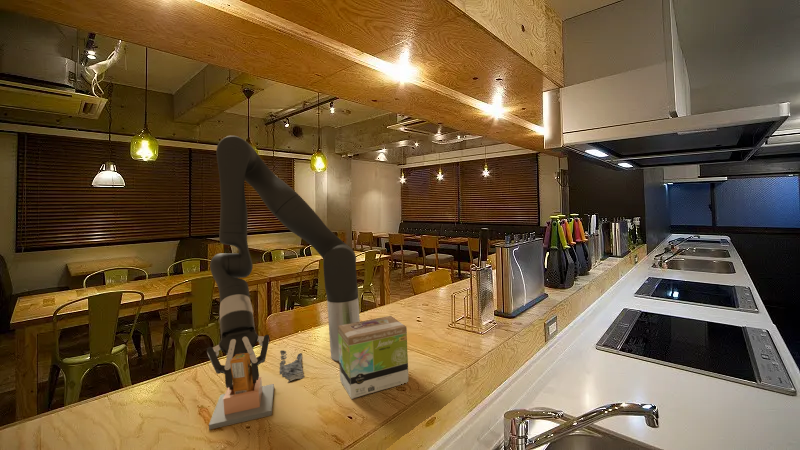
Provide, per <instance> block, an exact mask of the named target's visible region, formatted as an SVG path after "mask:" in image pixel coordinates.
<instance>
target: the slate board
mask: <svg viewBox="0 0 800 450" xmlns="http://www.w3.org/2000/svg"><path fill="white" fill-rule="evenodd" d="M274 392H275V384H274V383H271V384H266V385H262V396H261V403H260V407H258V408H253V409H249V410H244V411H240V412H235V413H231V414H227V415H225V413H224V402H223V399H224V396H225V393H222V394H220V396H219V398H218V400H217V403H216V405H215V408H214V411H213V413H212V416H211V418H210V421H209V423H208V430H213V429H217V428H221V427H222V428H223V427H226V426H230V425H236V424H239V423H244V422H248V421H252V420H257V419H261V418H264V417H266V418H267V417H269V416H272V414H273V403H274V396H275V395H274V394H275V393H274Z"/></svg>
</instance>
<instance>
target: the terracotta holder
mask: <svg viewBox="0 0 800 450" xmlns="http://www.w3.org/2000/svg"><path fill="white" fill-rule="evenodd" d="M262 383H263V381H262V376H259V379H258V380H256V383H254V384H253V387H254V391H249V392H244V393H240V394H235V395H234V388H233V389H232V390H230V388H227V387H226V390H225V393H224V394H225V396H224V399H223V402H224V413H225V415H227V414H231V413H235V412H240V411H244V410H249V409H253V408H258V407H260V403H261V396H262V386H263V384H262Z"/></svg>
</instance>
